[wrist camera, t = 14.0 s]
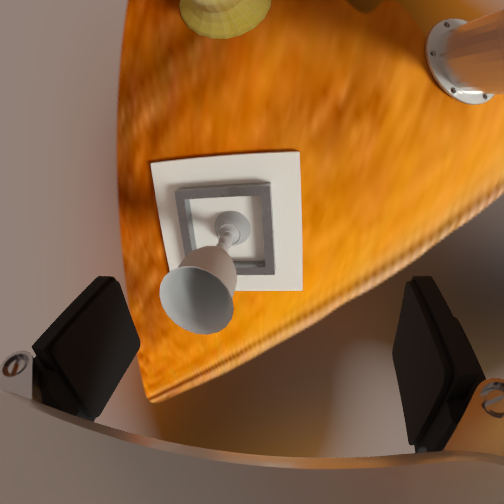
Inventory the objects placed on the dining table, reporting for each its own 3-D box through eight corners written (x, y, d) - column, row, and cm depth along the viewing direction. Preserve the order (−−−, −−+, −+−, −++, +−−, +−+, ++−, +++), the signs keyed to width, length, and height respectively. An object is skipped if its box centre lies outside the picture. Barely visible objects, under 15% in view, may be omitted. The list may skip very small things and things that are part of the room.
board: (299, 151, 39) (299, 152, 38) (302, 286, 48) (302, 290, 47) (153, 162, 42) (150, 163, 41) (175, 286, 51) (173, 289, 50)
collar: (270, 182, 41) (269, 185, 39) (275, 268, 46) (274, 274, 44) (179, 187, 42) (174, 191, 41) (192, 268, 48) (188, 275, 46)
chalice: (202, 207, 43) (148, 271, 27) (250, 198, 42) (220, 260, 26) (216, 255, 46) (175, 336, 30) (262, 248, 45) (242, 331, 29)
